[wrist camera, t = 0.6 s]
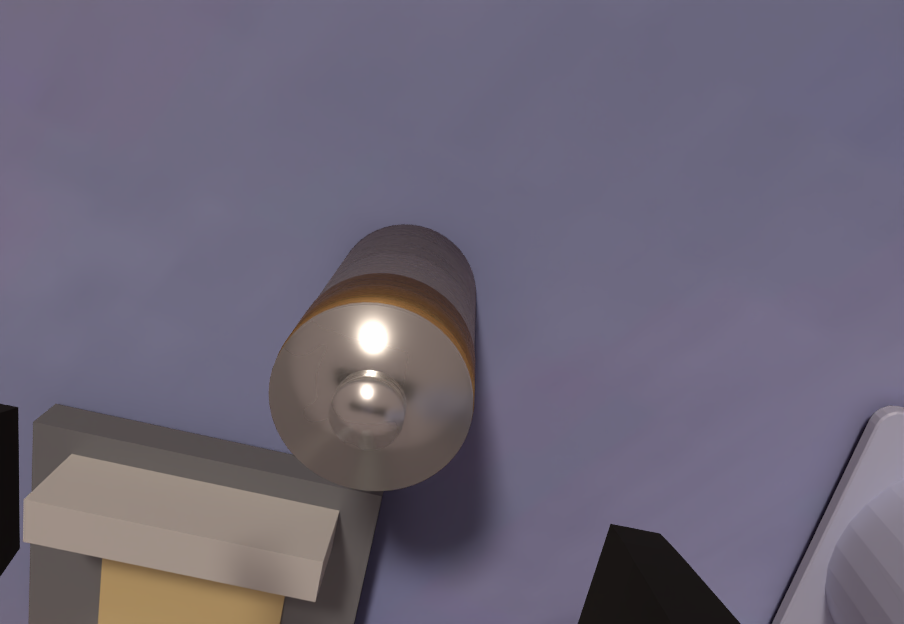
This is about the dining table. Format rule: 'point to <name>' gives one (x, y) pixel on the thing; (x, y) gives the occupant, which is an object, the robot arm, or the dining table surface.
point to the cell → (382, 364)
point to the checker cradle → (186, 529)
